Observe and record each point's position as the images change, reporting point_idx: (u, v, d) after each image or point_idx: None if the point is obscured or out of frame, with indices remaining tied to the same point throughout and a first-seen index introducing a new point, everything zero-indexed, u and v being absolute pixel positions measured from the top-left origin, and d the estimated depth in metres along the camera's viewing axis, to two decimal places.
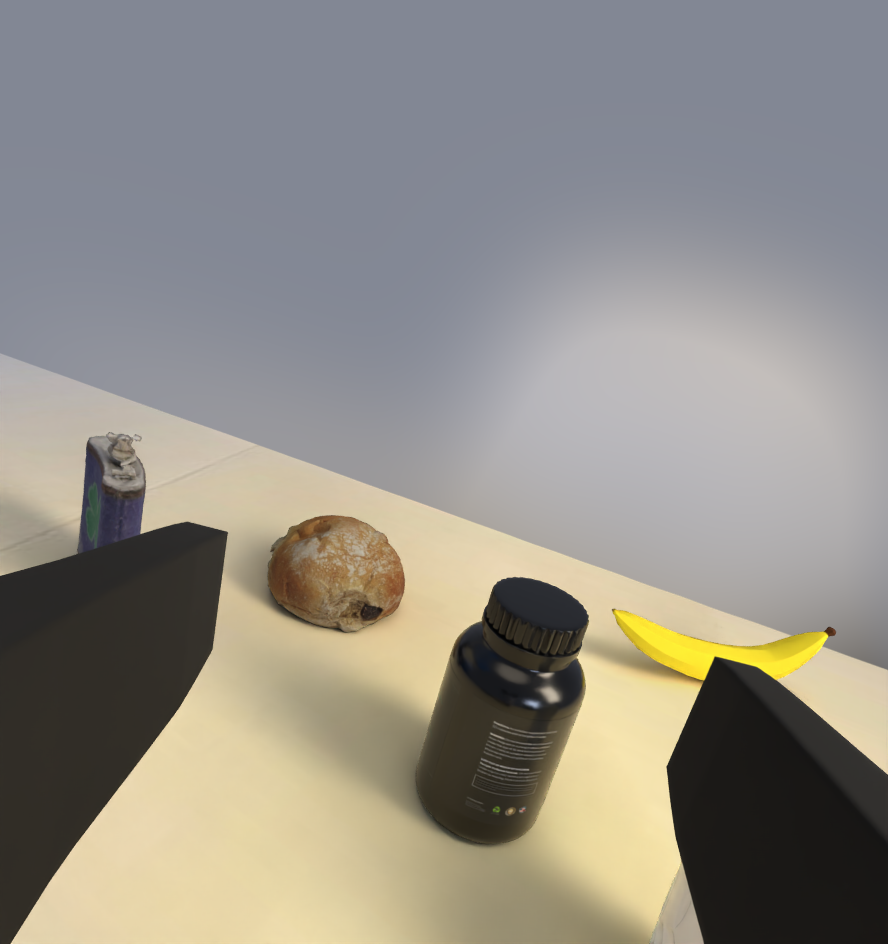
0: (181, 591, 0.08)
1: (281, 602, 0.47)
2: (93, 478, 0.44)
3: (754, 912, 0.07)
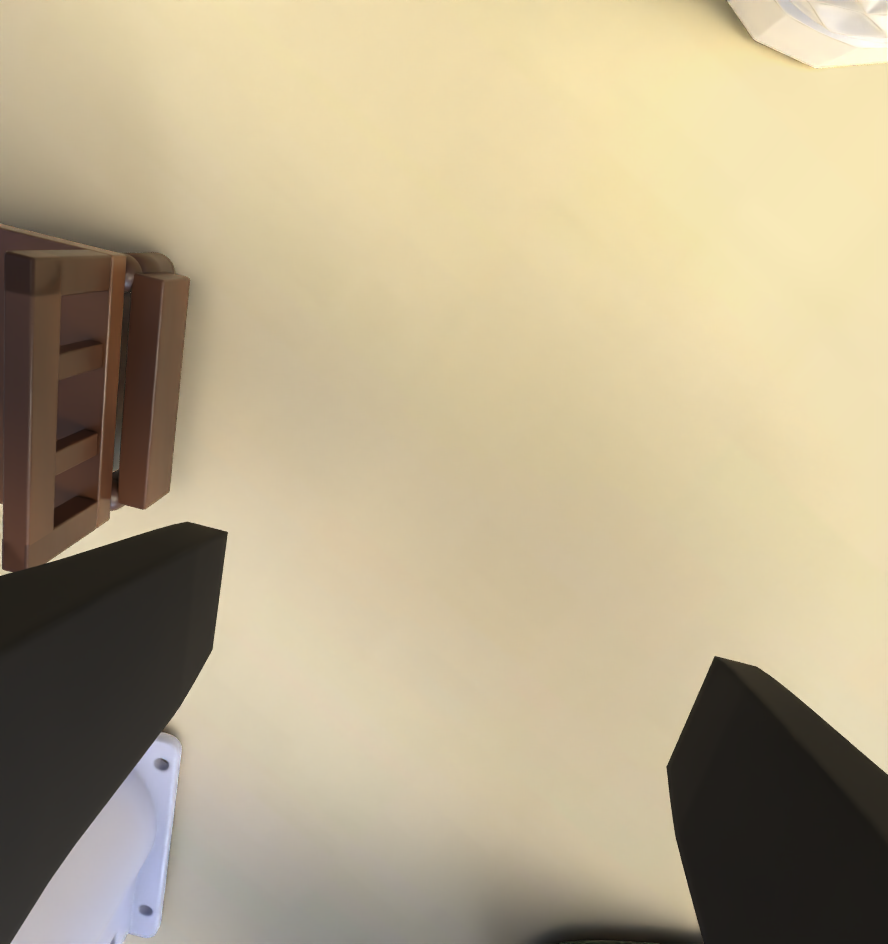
0: (181, 591, 0.08)
1: None
2: None
3: (753, 912, 0.07)
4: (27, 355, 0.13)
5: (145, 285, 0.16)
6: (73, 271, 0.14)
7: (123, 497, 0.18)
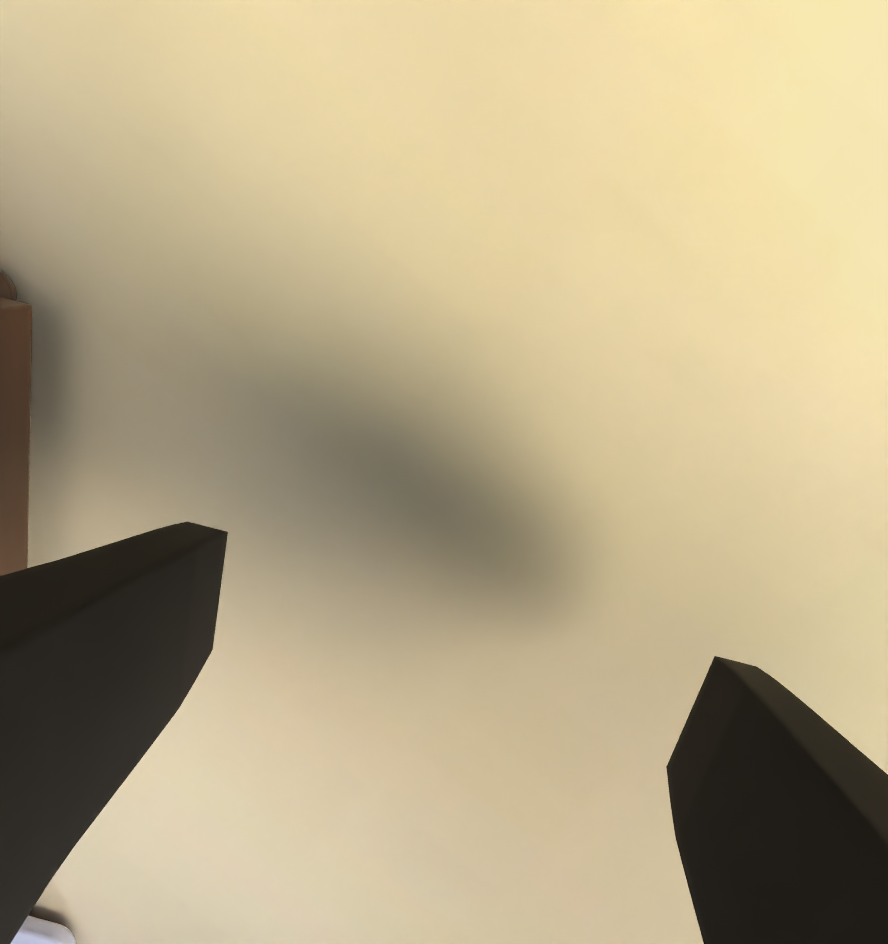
0: (181, 591, 0.08)
1: None
2: None
3: (753, 912, 0.07)
4: None
5: None
6: None
7: None
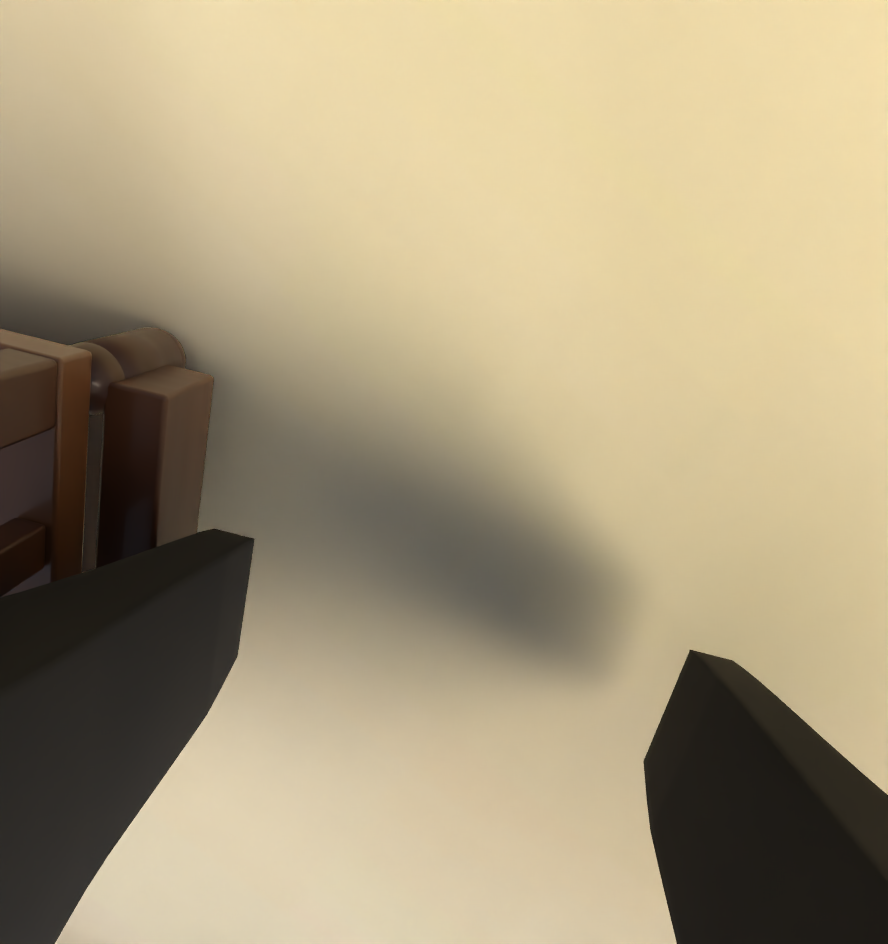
0: (211, 599, 0.08)
1: None
2: None
3: (722, 904, 0.07)
4: None
5: (130, 405, 0.08)
6: None
7: None
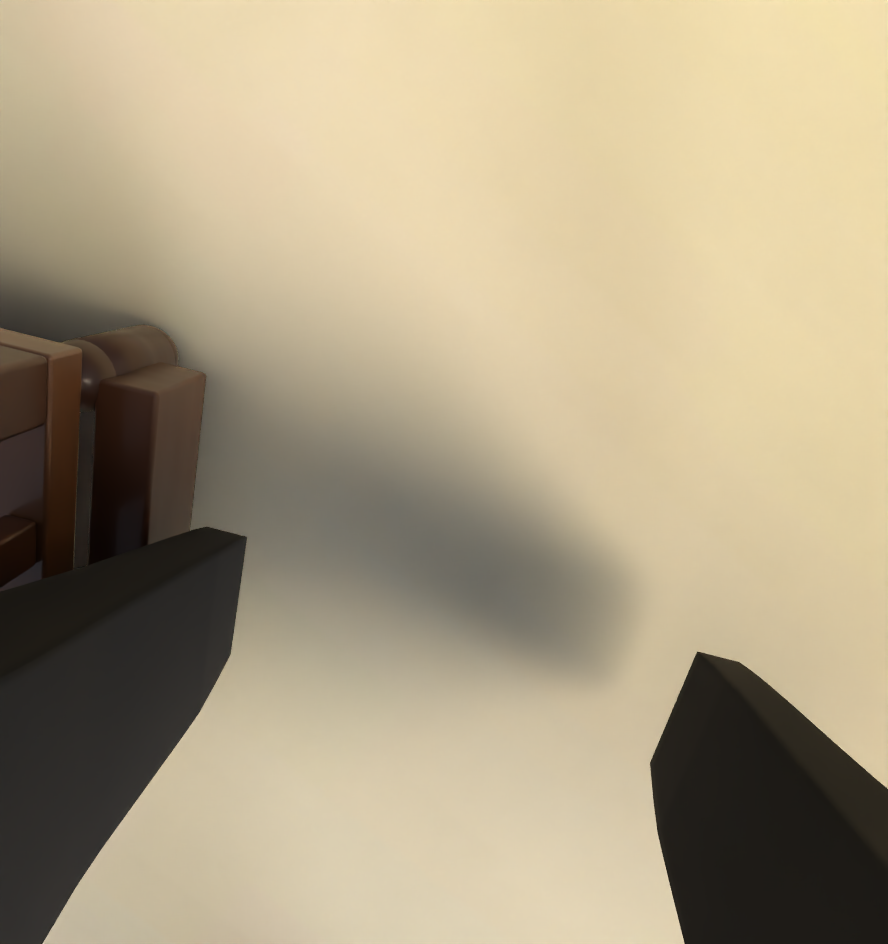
0: (203, 597, 0.08)
1: None
2: None
3: (731, 906, 0.07)
4: None
5: (121, 402, 0.08)
6: None
7: None
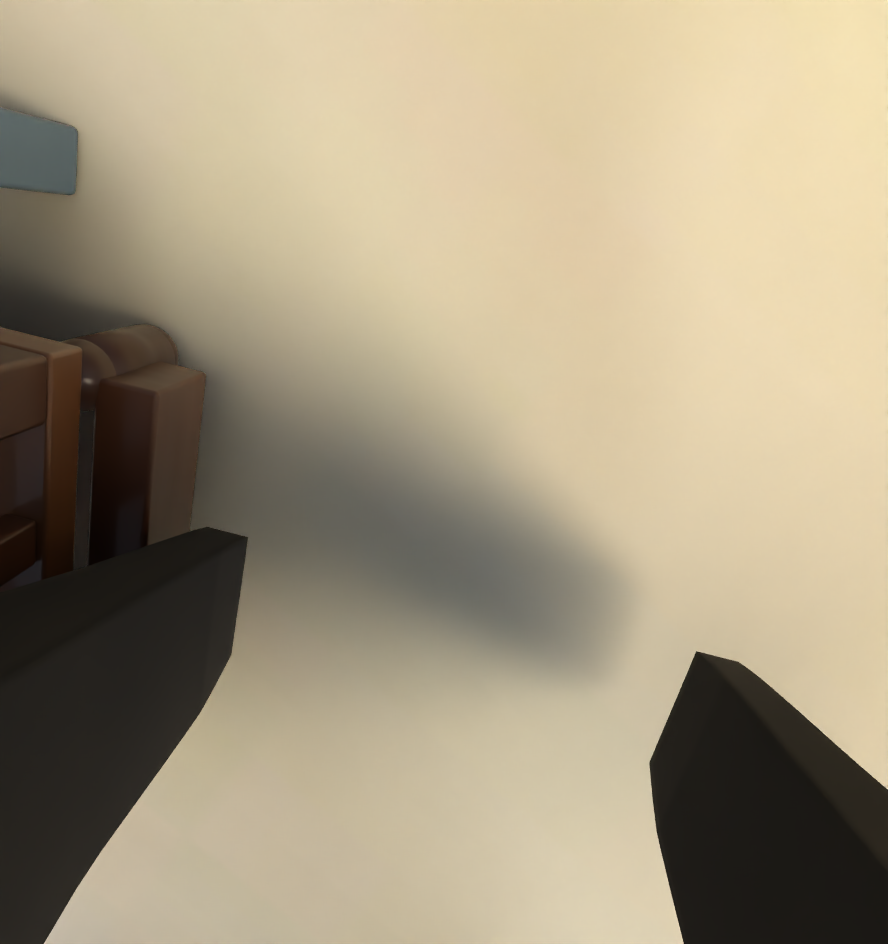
0: (204, 597, 0.08)
1: None
2: None
3: (730, 906, 0.07)
4: None
5: (121, 401, 0.08)
6: None
7: None
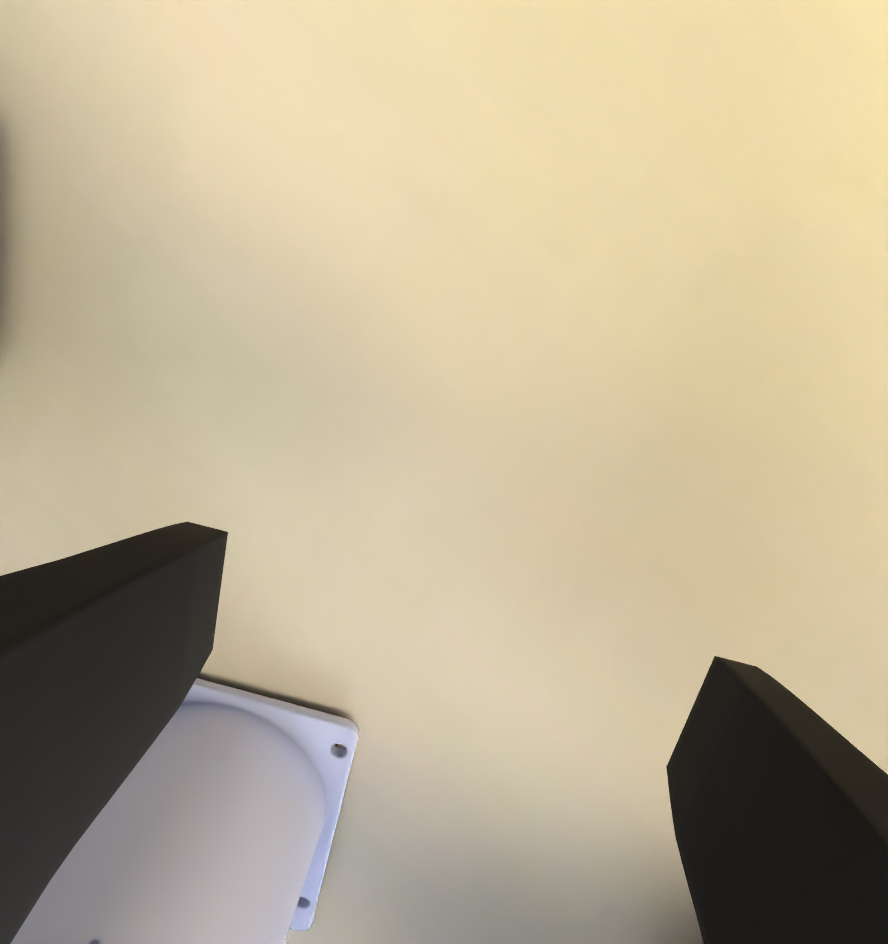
0: (181, 591, 0.08)
1: None
2: None
3: (753, 912, 0.07)
4: None
5: None
6: None
7: None
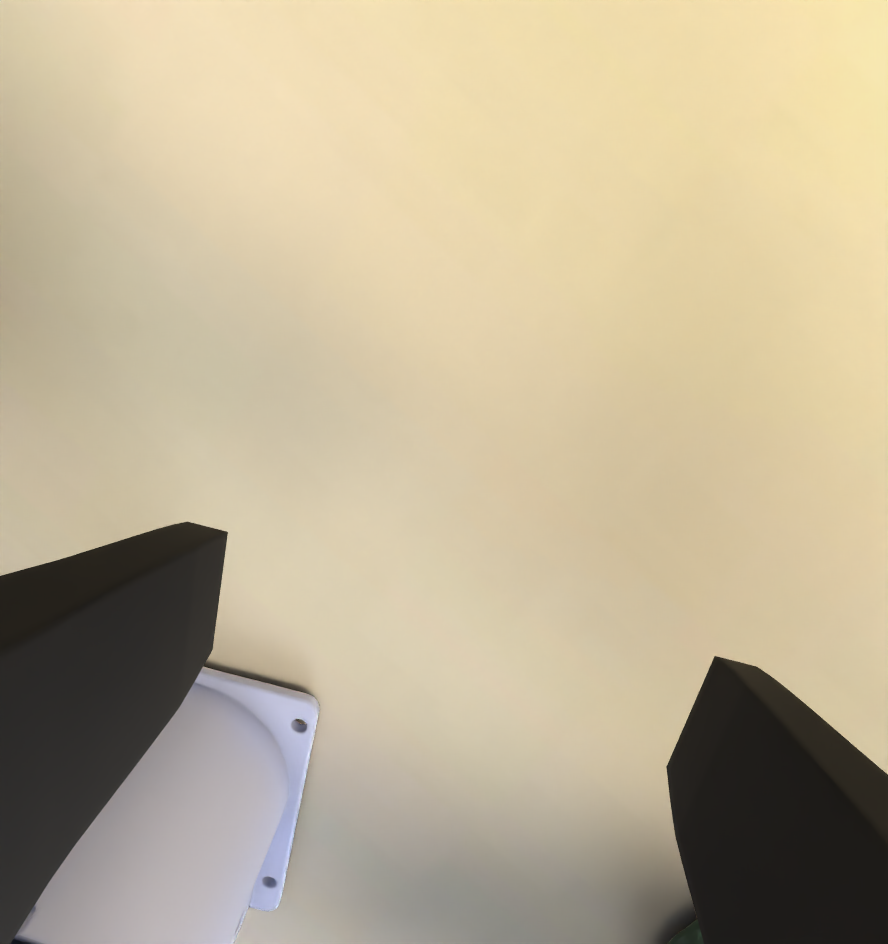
0: (181, 591, 0.08)
1: None
2: None
3: (753, 912, 0.07)
4: None
5: None
6: None
7: None
